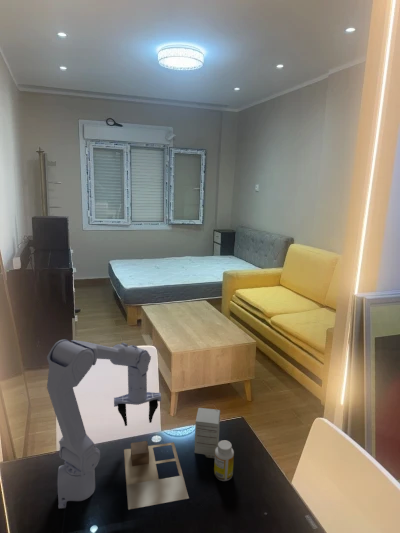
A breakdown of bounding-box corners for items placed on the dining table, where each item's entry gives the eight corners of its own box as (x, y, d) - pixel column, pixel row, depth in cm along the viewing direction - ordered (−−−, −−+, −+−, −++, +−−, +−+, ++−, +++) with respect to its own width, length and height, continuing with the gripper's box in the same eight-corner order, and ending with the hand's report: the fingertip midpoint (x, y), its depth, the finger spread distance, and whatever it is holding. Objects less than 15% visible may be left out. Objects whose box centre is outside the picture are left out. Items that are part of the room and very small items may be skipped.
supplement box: (197, 440, 120) (198, 406, 118) (219, 443, 120) (221, 409, 117) (193, 456, 113) (194, 421, 111) (217, 459, 112) (219, 423, 110)
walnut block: (132, 466, 107) (131, 454, 106) (130, 454, 112) (130, 443, 111) (148, 463, 108) (149, 452, 107) (147, 451, 113) (147, 440, 112)
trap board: (128, 513, 93) (128, 509, 93) (123, 452, 114) (123, 449, 113) (188, 501, 97) (188, 498, 97) (173, 445, 118) (174, 442, 117)
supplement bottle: (230, 467, 110) (232, 437, 107) (234, 481, 104) (236, 451, 102) (212, 467, 109) (214, 438, 107) (215, 482, 104) (216, 451, 101)
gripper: (159, 375, 117) (159, 411, 121) (113, 379, 114) (114, 417, 117) (162, 387, 111) (162, 425, 114) (113, 392, 107) (114, 431, 111)
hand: (138, 422), depth 115 cm, fingers open, 7 cm apart
